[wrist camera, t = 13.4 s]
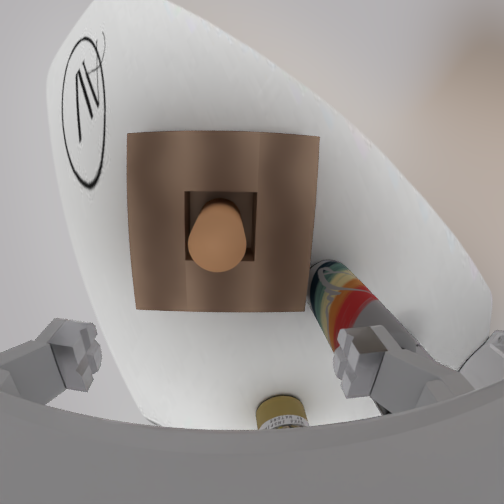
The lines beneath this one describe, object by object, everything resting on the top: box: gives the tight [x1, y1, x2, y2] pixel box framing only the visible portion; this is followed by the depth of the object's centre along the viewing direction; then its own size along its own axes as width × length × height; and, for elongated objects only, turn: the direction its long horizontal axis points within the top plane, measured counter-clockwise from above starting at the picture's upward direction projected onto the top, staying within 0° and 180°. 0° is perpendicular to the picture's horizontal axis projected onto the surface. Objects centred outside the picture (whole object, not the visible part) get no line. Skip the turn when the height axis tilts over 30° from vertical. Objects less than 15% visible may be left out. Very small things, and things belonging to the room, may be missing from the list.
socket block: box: [127, 131, 320, 312], centre depth 28 cm, size 16×16×5 cm
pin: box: [188, 198, 246, 272], centre depth 25 cm, size 4×4×9 cm
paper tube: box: [256, 396, 309, 430], centre depth 28 cm, size 7×7×25 cm
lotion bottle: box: [306, 260, 416, 416], centre depth 24 cm, size 6×6×20 cm
